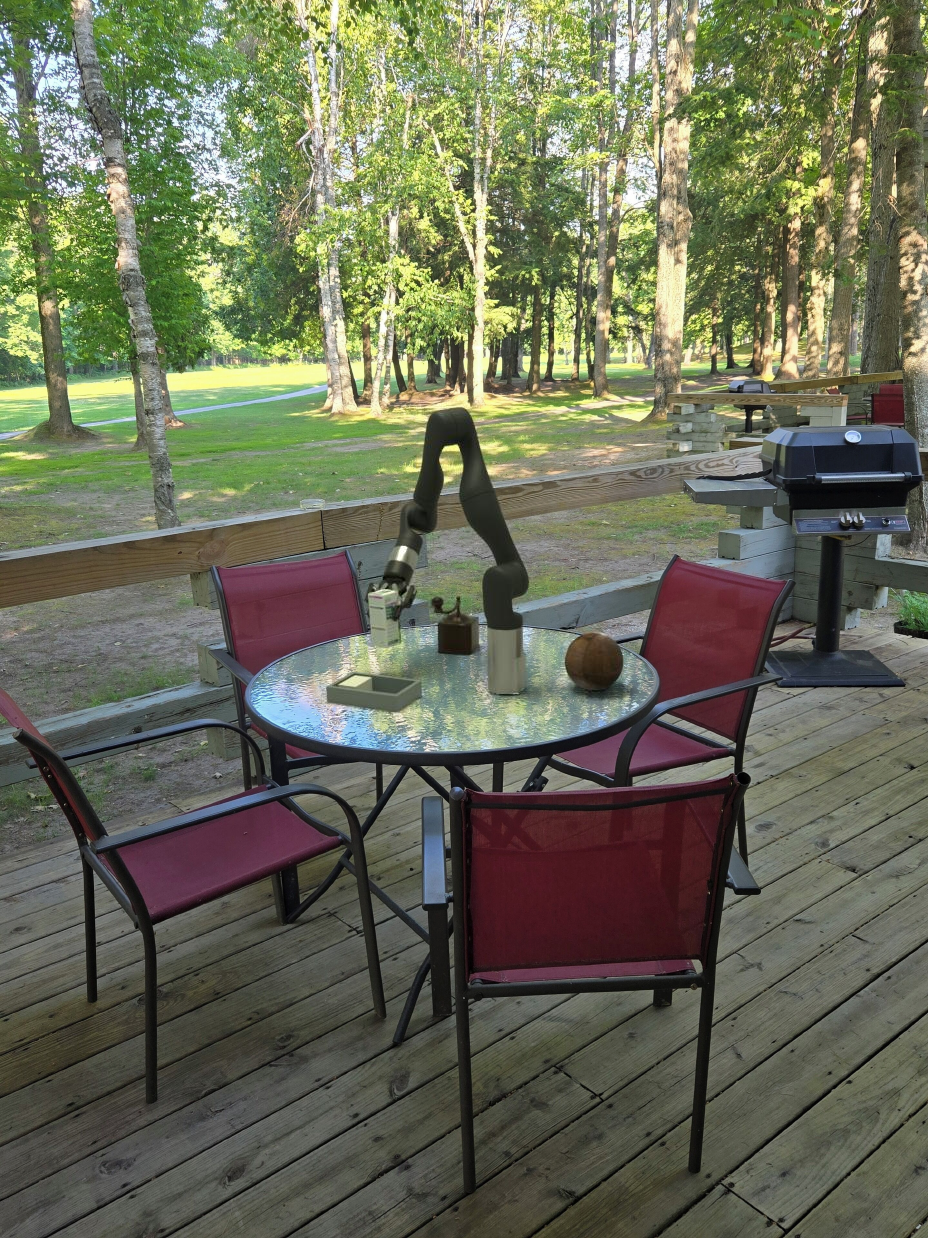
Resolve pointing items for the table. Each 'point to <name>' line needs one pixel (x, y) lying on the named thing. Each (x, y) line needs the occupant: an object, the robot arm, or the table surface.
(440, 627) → the manual coffee grinder
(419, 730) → the table surface
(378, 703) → the tray
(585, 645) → the wooden sphere
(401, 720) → the table surface
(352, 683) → the cream rectangular block
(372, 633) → the syrup box
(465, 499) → the robot arm
